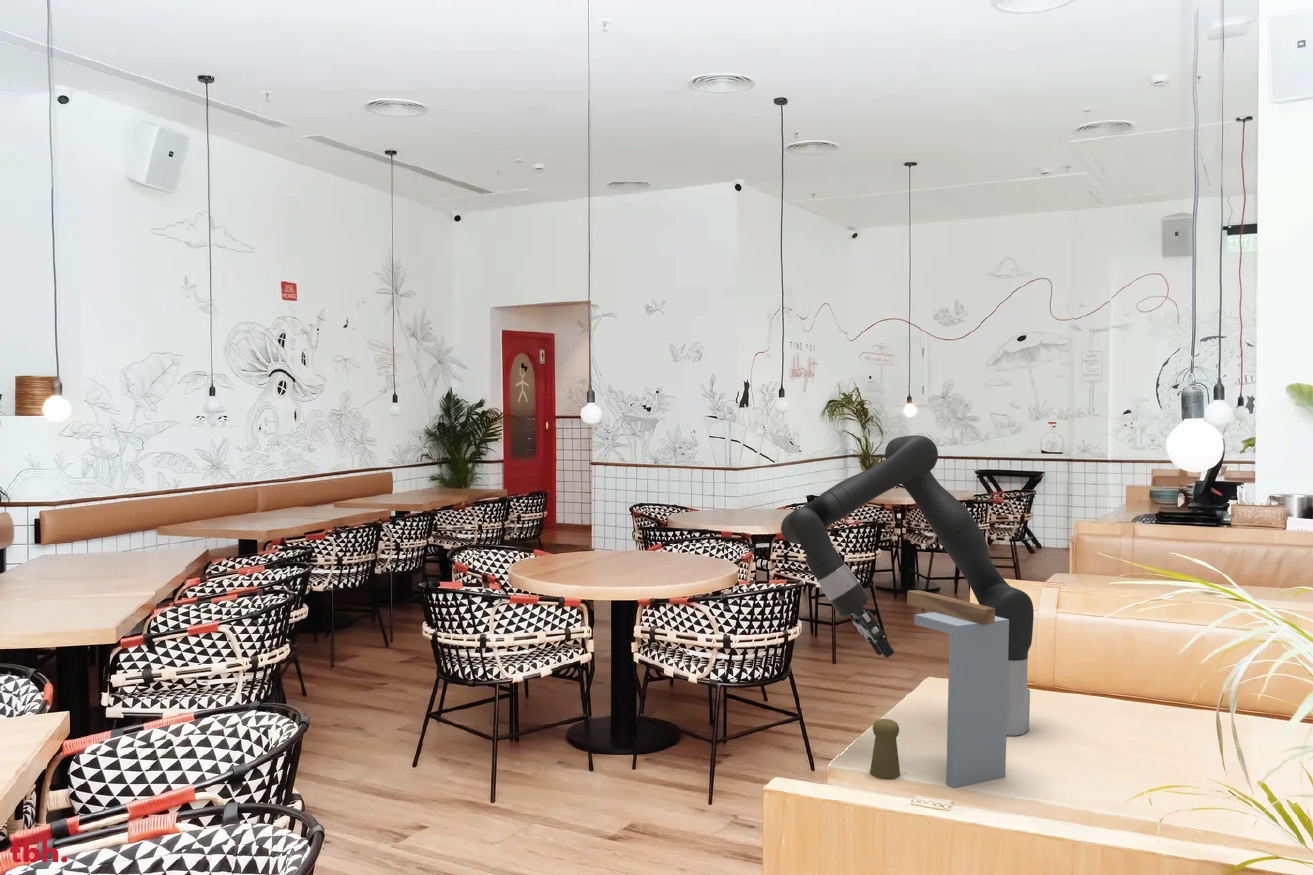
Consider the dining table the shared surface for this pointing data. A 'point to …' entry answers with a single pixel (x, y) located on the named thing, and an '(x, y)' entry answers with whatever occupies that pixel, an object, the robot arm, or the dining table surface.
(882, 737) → the olive pawn
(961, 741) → the shelf stand
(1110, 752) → the dining table surface
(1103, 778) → the dining table surface
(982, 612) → the walnut rod
